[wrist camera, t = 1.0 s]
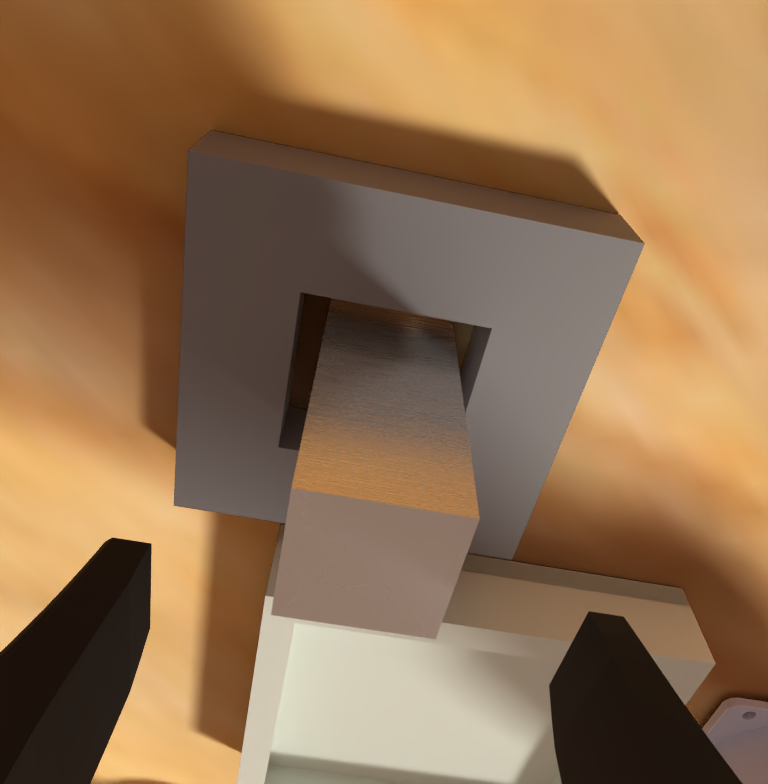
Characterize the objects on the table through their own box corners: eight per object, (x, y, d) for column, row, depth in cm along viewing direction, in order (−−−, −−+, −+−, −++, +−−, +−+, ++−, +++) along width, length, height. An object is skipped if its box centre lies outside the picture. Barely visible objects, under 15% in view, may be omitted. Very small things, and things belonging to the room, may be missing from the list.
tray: (682, 588, 24) (715, 663, 21) (551, 795, 31) (565, 870, 29) (281, 524, 22) (265, 595, 20) (244, 755, 30) (230, 829, 27)
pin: (450, 312, 18) (479, 518, 12) (424, 409, 20) (435, 639, 13) (333, 289, 18) (291, 488, 11) (316, 389, 20) (271, 615, 13)
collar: (619, 214, 17) (644, 243, 15) (503, 513, 22) (511, 559, 20) (211, 130, 16) (188, 150, 14) (192, 461, 21) (173, 505, 19)
